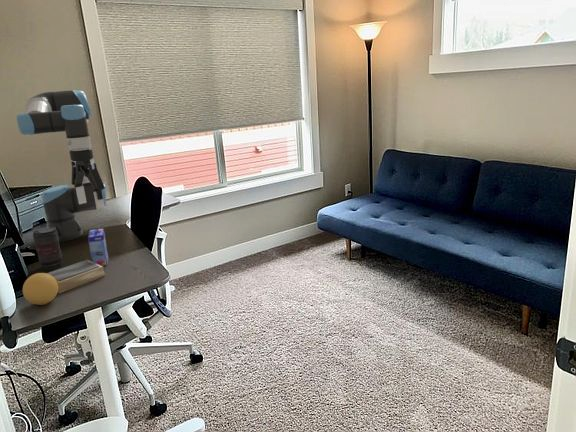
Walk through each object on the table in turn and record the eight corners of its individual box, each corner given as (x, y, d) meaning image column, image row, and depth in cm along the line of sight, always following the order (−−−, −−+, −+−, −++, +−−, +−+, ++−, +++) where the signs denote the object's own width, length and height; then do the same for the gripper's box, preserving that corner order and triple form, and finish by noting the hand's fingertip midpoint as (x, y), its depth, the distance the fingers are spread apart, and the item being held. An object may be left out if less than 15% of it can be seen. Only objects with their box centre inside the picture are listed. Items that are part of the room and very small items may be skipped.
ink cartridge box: (108, 265, 167) (101, 229, 163) (93, 268, 166) (85, 231, 161) (109, 256, 176) (102, 222, 172) (94, 259, 175) (87, 224, 170)
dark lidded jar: (48, 272, 164) (39, 234, 160) (36, 268, 169) (27, 231, 164) (68, 264, 171) (60, 227, 167) (56, 260, 175) (48, 225, 171)
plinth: (44, 284, 154) (42, 273, 153) (88, 268, 165) (86, 258, 164) (59, 293, 146) (57, 282, 145) (104, 275, 158) (102, 265, 157)
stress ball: (49, 312, 136) (69, 283, 140) (20, 297, 130) (41, 268, 134) (40, 307, 143) (59, 280, 147) (11, 293, 137) (32, 265, 141)
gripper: (54, 148, 163) (66, 203, 170) (87, 152, 148) (98, 212, 154) (74, 145, 169) (85, 199, 175) (108, 149, 153) (118, 207, 160)
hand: (91, 205), depth 165 cm, fingers open, 13 cm apart
